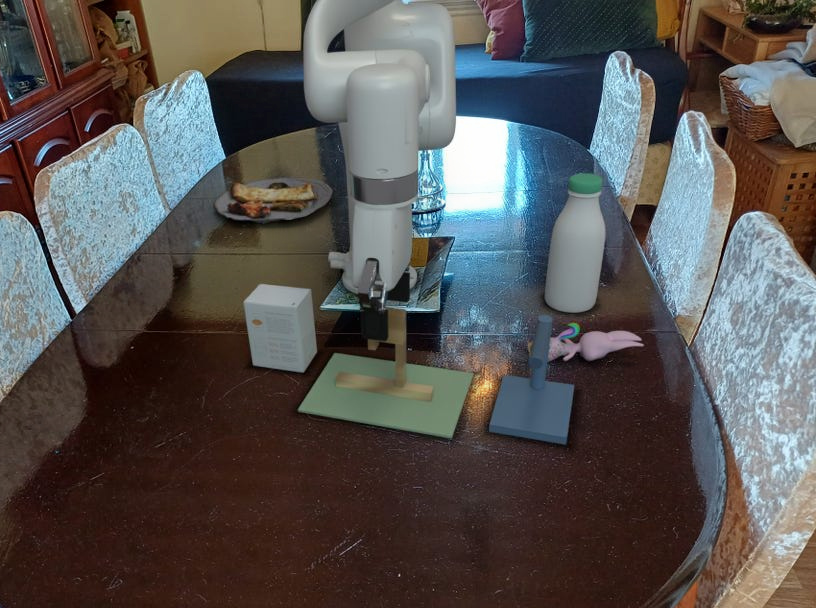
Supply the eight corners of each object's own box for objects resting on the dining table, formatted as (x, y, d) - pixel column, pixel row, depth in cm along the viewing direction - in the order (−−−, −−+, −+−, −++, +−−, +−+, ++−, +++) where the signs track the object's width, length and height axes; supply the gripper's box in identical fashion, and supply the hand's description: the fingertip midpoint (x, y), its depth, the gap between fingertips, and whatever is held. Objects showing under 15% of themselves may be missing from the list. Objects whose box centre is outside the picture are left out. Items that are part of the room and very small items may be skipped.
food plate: (202, 228, 147) (199, 212, 145) (230, 188, 166) (228, 173, 164) (324, 228, 144) (323, 211, 142) (338, 187, 163) (337, 172, 161)
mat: (298, 411, 93) (297, 409, 93) (334, 355, 104) (334, 352, 104) (451, 438, 87) (451, 436, 87) (473, 375, 98) (473, 373, 98)
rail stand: (488, 431, 88) (494, 353, 82) (503, 381, 97) (509, 308, 90) (565, 445, 85) (578, 365, 79) (573, 392, 94) (584, 316, 88)
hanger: (335, 386, 97) (330, 306, 90) (339, 380, 98) (334, 300, 92) (431, 402, 93) (432, 319, 86) (434, 395, 94) (436, 312, 88)
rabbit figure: (531, 377, 99) (647, 365, 96) (527, 340, 96) (648, 326, 93) (527, 352, 105) (637, 340, 101) (523, 317, 101) (637, 303, 98)
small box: (318, 353, 105) (312, 288, 99) (303, 374, 101) (297, 307, 95) (267, 346, 107) (259, 282, 102) (251, 366, 103) (242, 300, 97)
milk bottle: (597, 315, 110) (618, 187, 99) (544, 312, 111) (559, 186, 100) (593, 291, 116) (611, 169, 105) (543, 289, 118) (556, 168, 107)
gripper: (374, 158, 88) (377, 284, 98) (325, 210, 75) (334, 350, 84) (435, 161, 86) (432, 290, 95) (395, 216, 73) (397, 360, 82)
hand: (386, 318), depth 90 cm, fingers open, 9 cm apart
